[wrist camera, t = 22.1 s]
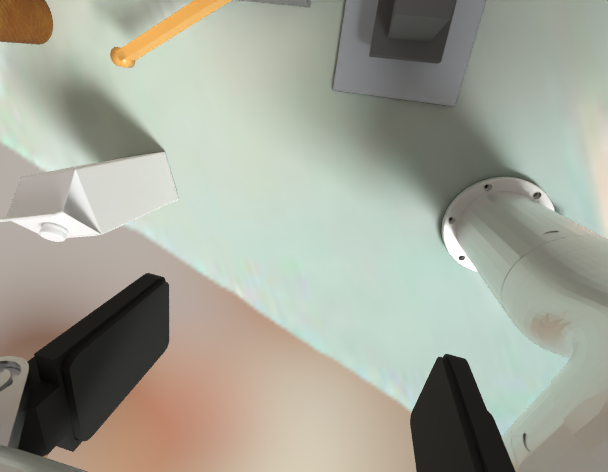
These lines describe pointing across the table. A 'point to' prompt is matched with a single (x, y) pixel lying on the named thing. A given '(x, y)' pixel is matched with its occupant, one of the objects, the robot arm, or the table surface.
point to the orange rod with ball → (164, 31)
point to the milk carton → (92, 196)
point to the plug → (412, 29)
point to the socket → (285, 2)
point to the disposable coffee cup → (25, 21)
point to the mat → (400, 73)
